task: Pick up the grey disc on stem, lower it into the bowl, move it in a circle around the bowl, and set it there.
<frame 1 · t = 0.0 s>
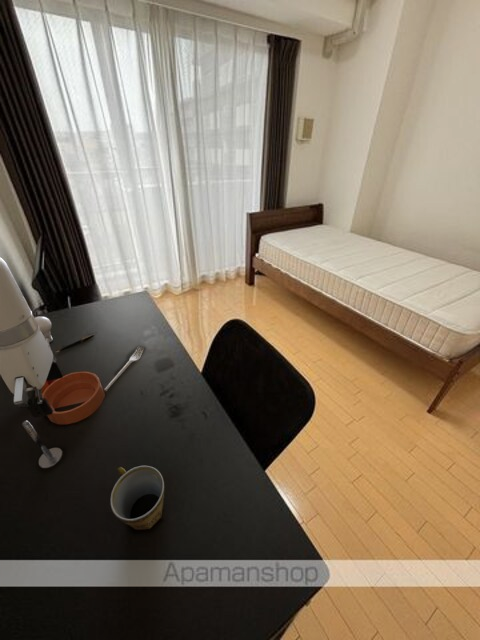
hand: (50, 395, 58), 23 cm above the table, tool pointing down, fingers open, 9 cm apart
ceramic cup: (143, 508, 61), on the table
lightbulb: (49, 342, 108), on the table
paper cup: (45, 386, 90), on the table
fork: (125, 370, 95), on the table
bowl: (77, 404, 84), on the table
grey disc on stem: (53, 461, 70), on the table
fountain pen: (76, 345, 106), on the table
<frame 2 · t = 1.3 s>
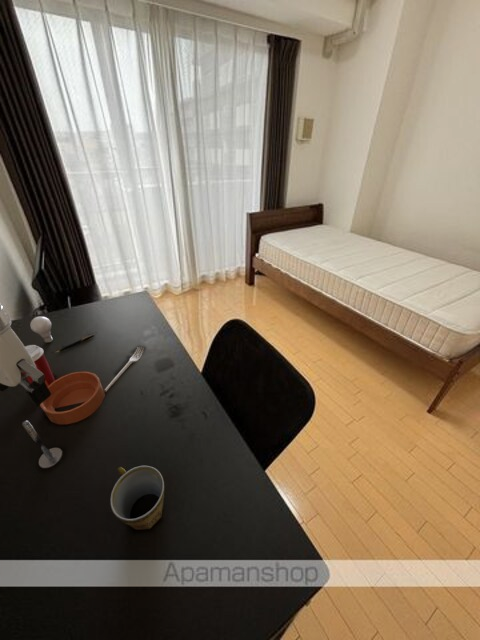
hand: (25, 392, 56), 24 cm above the table, tool pointing down, fingers open, 9 cm apart
nothing on the table moved.
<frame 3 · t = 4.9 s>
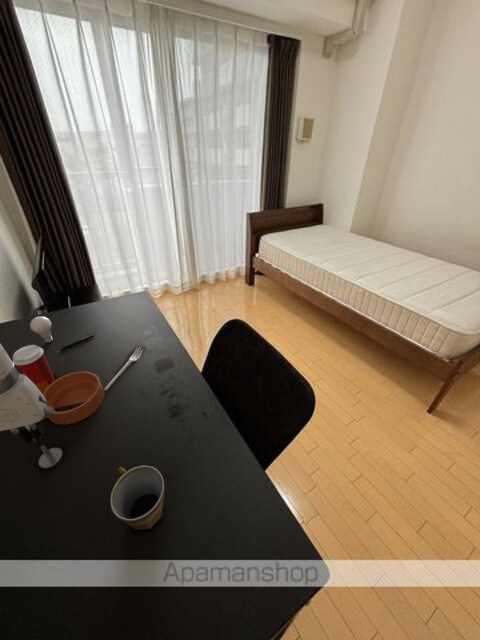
hand: (35, 436, 64), 11 cm above the table, tool pointing down, fingers closed on grey disc on stem
grey disc on stem: (53, 461, 70), on the table, touching gripper
everything else where it was.
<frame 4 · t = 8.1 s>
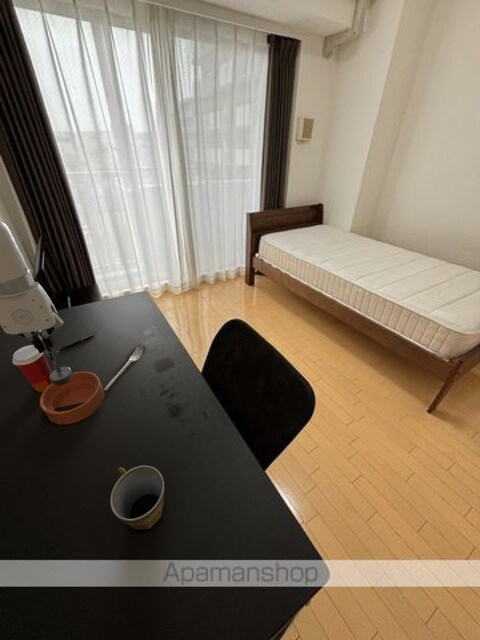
hand: (47, 348, 70), 22 cm above the table, tool pointing down, fingers closed on grey disc on stem
grey disc on stem: (63, 378, 76), point 12 cm above the table, touching gripper
everything else where it was.
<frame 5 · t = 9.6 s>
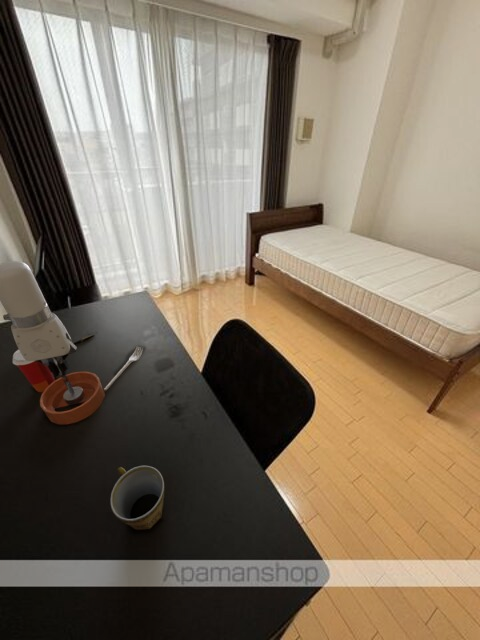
hand: (61, 371, 76), 14 cm above the table, tool pointing down, fingers closed on grey disc on stem
grey disc on stem: (75, 397, 82), point 3 cm above the table, touching gripper
everything else where it was.
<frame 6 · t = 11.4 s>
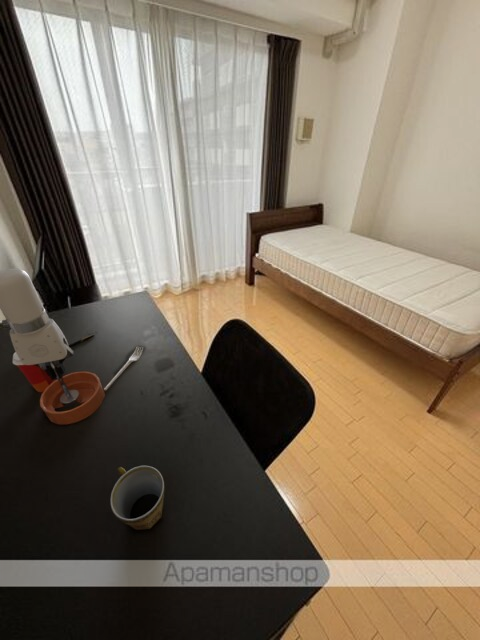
hand: (58, 375, 77), 12 cm above the table, tool pointing down, fingers closed on grey disc on stem
grey disc on stem: (71, 400, 84), point 1 cm above the table, touching gripper
everything else where it was.
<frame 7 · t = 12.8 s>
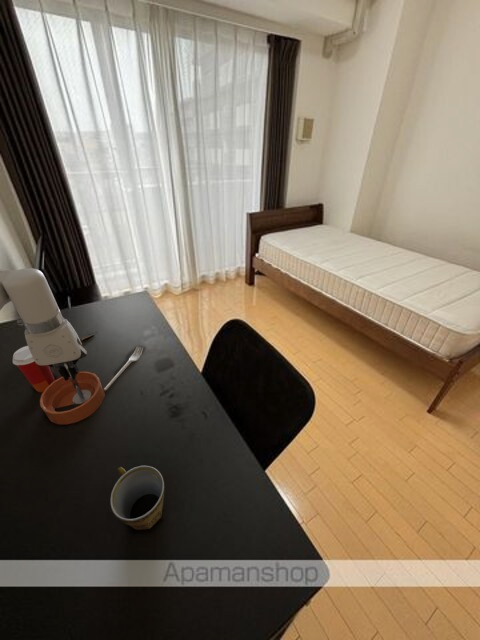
hand: (71, 375, 77), 12 cm above the table, tool pointing down, fingers closed on grey disc on stem
grey disc on stem: (84, 401, 83), point 1 cm above the table, touching gripper
everything else where it was.
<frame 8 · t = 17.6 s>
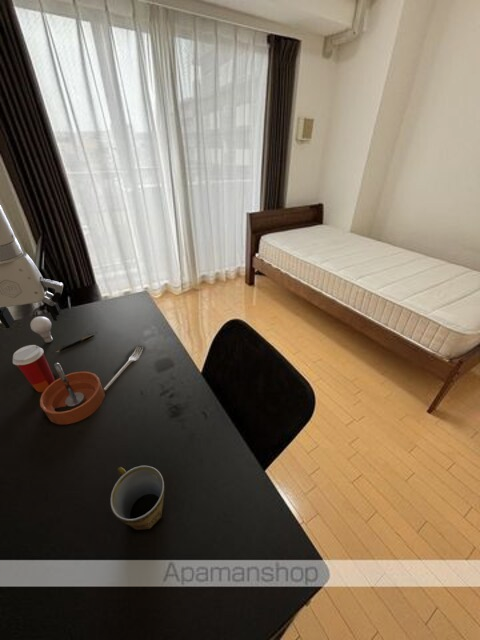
hand: (34, 321, 66), 30 cm above the table, tool pointing down, fingers open, 9 cm apart
grey disc on stem: (76, 403, 83), point 1 cm above the table, touching bowl
everything else where it was.
at the end: grey disc on stem 0.1 cm off-centre in the bowl, point 0.6 cm above the bowl's base; grey disc on stem tilted 0°; grey disc on stem moved 17.3 cm from its start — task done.
